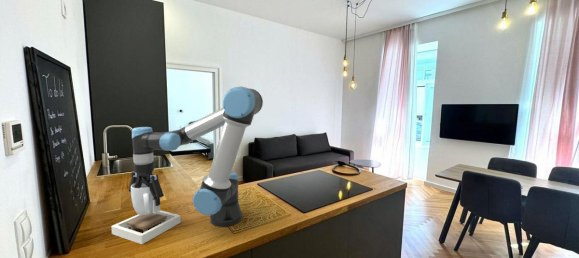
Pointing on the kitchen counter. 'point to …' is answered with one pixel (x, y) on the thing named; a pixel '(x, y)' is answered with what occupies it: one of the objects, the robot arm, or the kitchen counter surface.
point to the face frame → (141, 238)
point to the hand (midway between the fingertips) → (146, 209)
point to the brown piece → (146, 221)
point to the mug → (142, 199)
